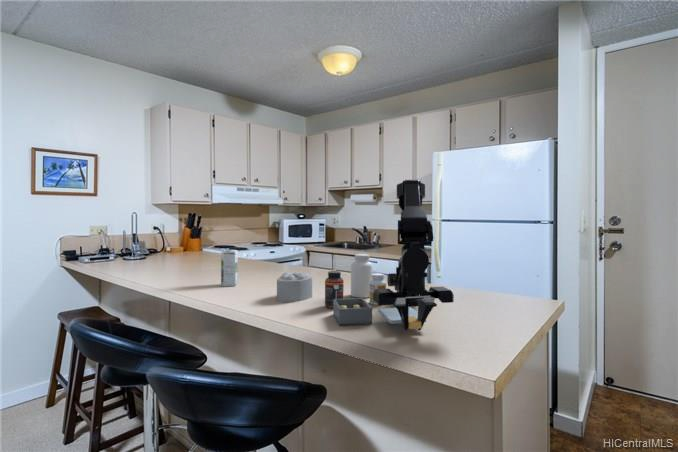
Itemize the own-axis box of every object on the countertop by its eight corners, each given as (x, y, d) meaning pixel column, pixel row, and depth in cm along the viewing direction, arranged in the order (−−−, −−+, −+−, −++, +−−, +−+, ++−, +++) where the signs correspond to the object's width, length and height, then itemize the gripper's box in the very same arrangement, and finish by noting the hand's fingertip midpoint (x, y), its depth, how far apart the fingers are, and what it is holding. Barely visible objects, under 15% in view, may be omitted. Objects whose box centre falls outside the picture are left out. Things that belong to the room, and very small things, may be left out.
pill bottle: (376, 294, 130) (376, 254, 130) (366, 299, 124) (366, 256, 123) (357, 292, 135) (357, 252, 134) (346, 296, 128) (346, 255, 127)
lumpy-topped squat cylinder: (316, 296, 128) (316, 272, 128) (291, 304, 118) (291, 278, 117) (295, 292, 134) (294, 269, 134) (269, 299, 124) (269, 274, 123)
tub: (362, 312, 107) (363, 298, 107) (372, 324, 96) (372, 307, 96) (333, 314, 106) (333, 299, 106) (339, 326, 95) (339, 309, 95)
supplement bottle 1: (341, 309, 111) (341, 273, 110) (323, 308, 112) (322, 272, 112) (345, 304, 117) (345, 270, 116) (327, 303, 118) (327, 269, 117)
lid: (410, 309, 102) (410, 304, 102) (433, 327, 86) (433, 321, 86) (378, 311, 100) (378, 305, 100) (396, 329, 85) (396, 323, 84)
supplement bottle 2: (387, 301, 120) (387, 273, 120) (384, 305, 115) (384, 276, 115) (371, 300, 122) (371, 272, 122) (367, 304, 117) (368, 275, 117)
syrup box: (223, 283, 150) (223, 249, 150) (238, 283, 151) (237, 249, 150) (220, 286, 145) (220, 251, 144) (235, 286, 145) (235, 251, 145)
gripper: (435, 261, 96) (434, 318, 97) (367, 263, 93) (367, 322, 94) (455, 268, 85) (454, 332, 86) (379, 270, 82) (379, 336, 83)
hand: (412, 330), depth 87 cm, fingers closed on lid, 3 cm apart
